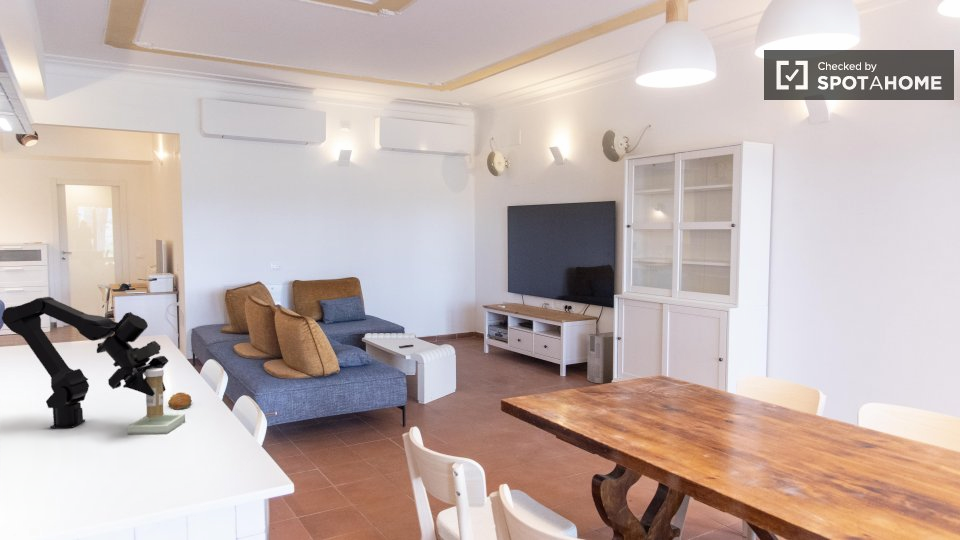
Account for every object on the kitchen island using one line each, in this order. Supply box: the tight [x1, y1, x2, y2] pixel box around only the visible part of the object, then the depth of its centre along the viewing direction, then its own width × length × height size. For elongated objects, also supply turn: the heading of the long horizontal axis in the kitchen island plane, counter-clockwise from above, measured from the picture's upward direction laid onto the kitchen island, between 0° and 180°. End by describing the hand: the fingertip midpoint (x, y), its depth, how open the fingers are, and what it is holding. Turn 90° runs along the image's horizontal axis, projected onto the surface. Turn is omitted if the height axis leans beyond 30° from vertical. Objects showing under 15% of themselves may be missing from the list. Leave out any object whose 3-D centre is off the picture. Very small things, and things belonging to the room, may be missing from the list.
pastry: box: [168, 392, 193, 411], centre depth 207 cm, size 9×7×4 cm
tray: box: [126, 413, 186, 435], centre depth 185 cm, size 11×11×2 cm
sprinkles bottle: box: [145, 368, 165, 418], centre depth 184 cm, size 5×5×14 cm
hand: (159, 392), depth 184 cm, fingers closed on sprinkles bottle, 4 cm apart
